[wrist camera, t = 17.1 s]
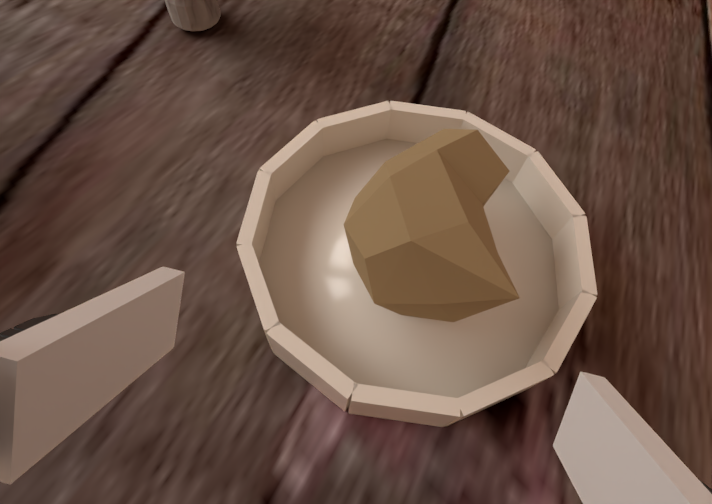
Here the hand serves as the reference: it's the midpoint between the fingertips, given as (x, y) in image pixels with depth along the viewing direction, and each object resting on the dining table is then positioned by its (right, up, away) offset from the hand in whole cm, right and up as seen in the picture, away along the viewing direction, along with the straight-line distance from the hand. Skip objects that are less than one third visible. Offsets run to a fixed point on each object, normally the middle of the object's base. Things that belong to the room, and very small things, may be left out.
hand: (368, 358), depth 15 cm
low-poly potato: (+5, +3, +20) cm, 21 cm away
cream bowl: (+4, +3, +20) cm, 21 cm away
